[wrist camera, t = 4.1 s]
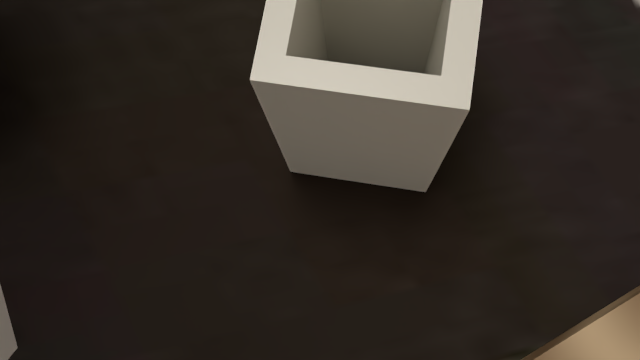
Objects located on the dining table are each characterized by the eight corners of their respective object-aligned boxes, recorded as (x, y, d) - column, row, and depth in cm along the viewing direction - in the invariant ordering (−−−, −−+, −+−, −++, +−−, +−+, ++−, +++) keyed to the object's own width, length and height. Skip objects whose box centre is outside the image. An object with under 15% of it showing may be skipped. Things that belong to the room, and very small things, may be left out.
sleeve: (425, 192, 30) (469, 110, 18) (290, 171, 31) (249, 80, 19) (442, 65, 31) (492, -86, 20) (313, 48, 32) (288, -107, 20)
